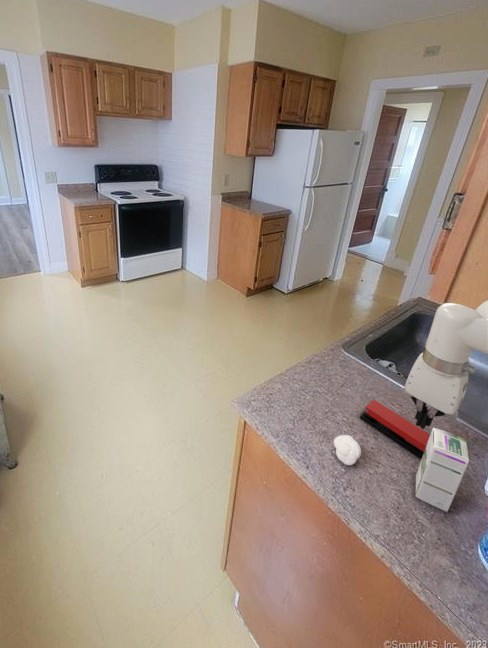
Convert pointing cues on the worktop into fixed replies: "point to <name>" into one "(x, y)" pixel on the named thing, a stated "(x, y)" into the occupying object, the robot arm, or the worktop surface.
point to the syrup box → (441, 468)
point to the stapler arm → (398, 424)
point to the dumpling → (347, 449)
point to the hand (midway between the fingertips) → (421, 424)
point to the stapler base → (392, 435)
